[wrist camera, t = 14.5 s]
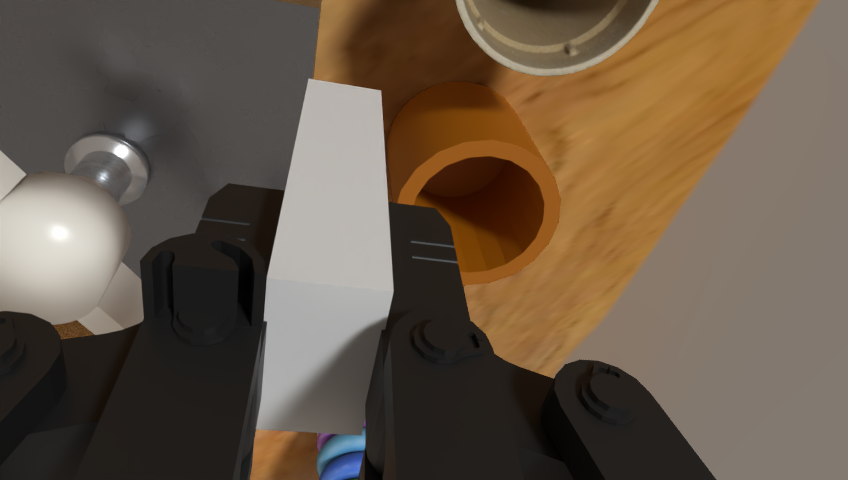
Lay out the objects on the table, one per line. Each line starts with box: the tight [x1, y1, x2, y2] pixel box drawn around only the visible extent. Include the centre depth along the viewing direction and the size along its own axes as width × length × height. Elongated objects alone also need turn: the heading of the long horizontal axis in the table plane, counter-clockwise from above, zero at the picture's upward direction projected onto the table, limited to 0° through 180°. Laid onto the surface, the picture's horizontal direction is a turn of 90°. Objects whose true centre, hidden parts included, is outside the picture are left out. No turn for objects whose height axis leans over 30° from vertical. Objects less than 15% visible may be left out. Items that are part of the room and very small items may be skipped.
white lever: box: [0, 151, 144, 335], centre depth 30 cm, size 18×6×4 cm, turn 29°
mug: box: [387, 81, 561, 288], centre depth 36 cm, size 9×12×9 cm
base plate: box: [0, 0, 321, 279], centre depth 32 cm, size 22×22×13 cm
